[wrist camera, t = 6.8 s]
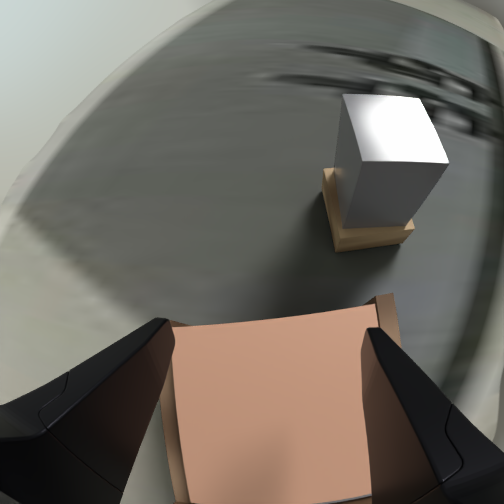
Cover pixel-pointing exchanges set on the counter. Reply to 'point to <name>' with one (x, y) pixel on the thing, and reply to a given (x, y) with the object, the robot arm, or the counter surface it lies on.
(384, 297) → the walnut frame
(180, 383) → the terracotta flap
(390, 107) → the granite block
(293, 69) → the counter surface
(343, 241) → the oak plinth
